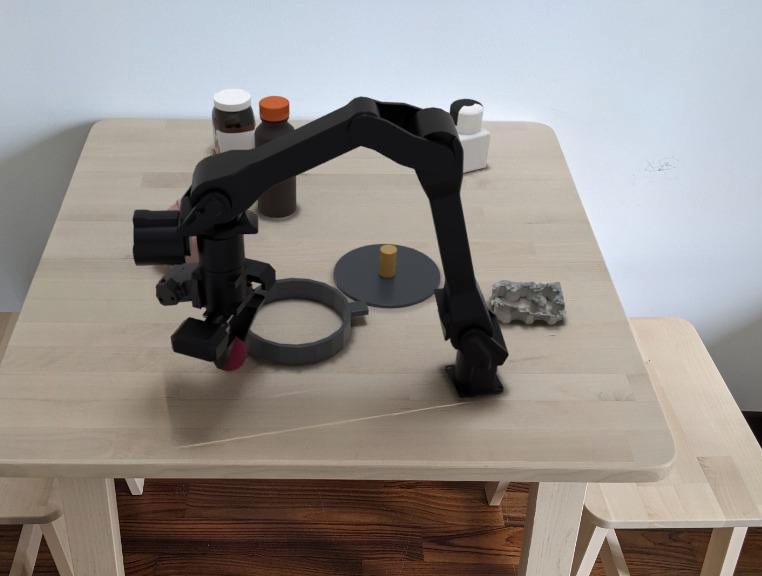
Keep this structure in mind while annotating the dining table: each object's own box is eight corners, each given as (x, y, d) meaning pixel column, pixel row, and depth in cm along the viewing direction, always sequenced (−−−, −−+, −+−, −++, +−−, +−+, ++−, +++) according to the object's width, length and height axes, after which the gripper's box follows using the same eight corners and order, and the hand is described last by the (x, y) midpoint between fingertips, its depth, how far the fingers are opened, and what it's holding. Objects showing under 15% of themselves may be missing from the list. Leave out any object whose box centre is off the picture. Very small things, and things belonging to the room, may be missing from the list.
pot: (381, 356, 130) (382, 335, 128) (230, 378, 127) (228, 357, 124) (352, 290, 142) (353, 269, 139) (213, 308, 139) (211, 287, 136)
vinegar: (302, 216, 158) (301, 107, 145) (265, 223, 156) (261, 114, 143) (288, 197, 163) (286, 90, 150) (252, 204, 161) (247, 96, 148)
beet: (250, 375, 122) (248, 348, 118) (214, 381, 121) (212, 353, 118) (244, 353, 125) (242, 325, 122) (209, 358, 124) (207, 330, 121)
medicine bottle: (434, 159, 173) (440, 99, 165) (465, 151, 176) (473, 92, 168) (453, 176, 169) (461, 115, 161) (486, 168, 171) (495, 107, 163)
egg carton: (490, 326, 135) (494, 304, 133) (488, 296, 141) (491, 274, 138) (563, 330, 134) (568, 308, 132) (558, 300, 140) (563, 278, 137)
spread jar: (210, 145, 178) (205, 88, 170) (266, 137, 180) (264, 80, 172) (224, 174, 169) (220, 115, 161) (283, 165, 172) (281, 107, 164)
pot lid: (454, 303, 140) (458, 272, 136) (348, 317, 137) (349, 287, 133) (421, 243, 152) (423, 214, 148) (322, 256, 149) (323, 226, 145)
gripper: (198, 209, 120) (207, 304, 130) (125, 286, 107) (141, 385, 118) (275, 226, 117) (278, 322, 127) (209, 308, 104) (219, 407, 114)
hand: (229, 357), depth 122 cm, fingers closed on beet, 5 cm apart
